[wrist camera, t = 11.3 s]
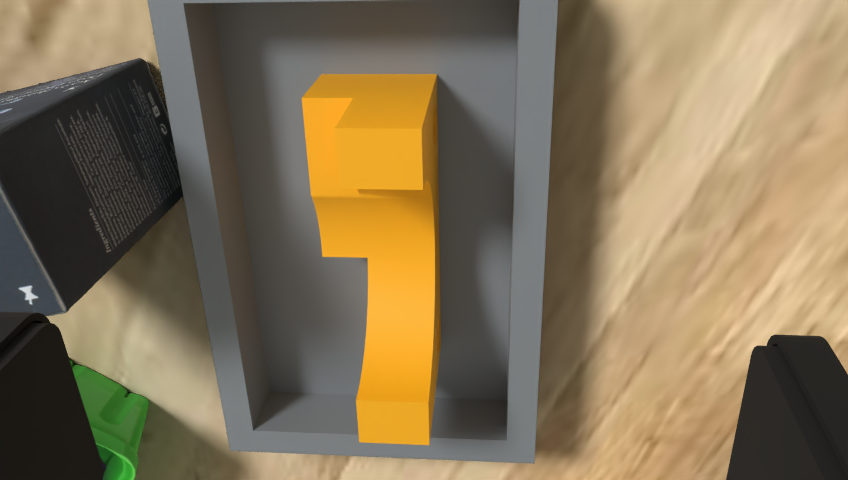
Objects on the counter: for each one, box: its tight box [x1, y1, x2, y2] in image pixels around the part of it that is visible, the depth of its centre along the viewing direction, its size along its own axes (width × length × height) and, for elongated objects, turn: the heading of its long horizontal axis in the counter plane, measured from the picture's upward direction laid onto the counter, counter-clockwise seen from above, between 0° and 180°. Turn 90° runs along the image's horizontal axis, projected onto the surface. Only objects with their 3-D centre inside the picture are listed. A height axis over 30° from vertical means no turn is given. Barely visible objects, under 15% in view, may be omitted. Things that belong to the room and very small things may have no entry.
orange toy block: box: [302, 74, 441, 445], centre depth 28 cm, size 12×4×6 cm, turn 1°
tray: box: [148, 0, 558, 463], centre depth 30 cm, size 13×20×4 cm, turn 1°
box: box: [0, 58, 183, 316], centre depth 26 cm, size 8×6×11 cm
